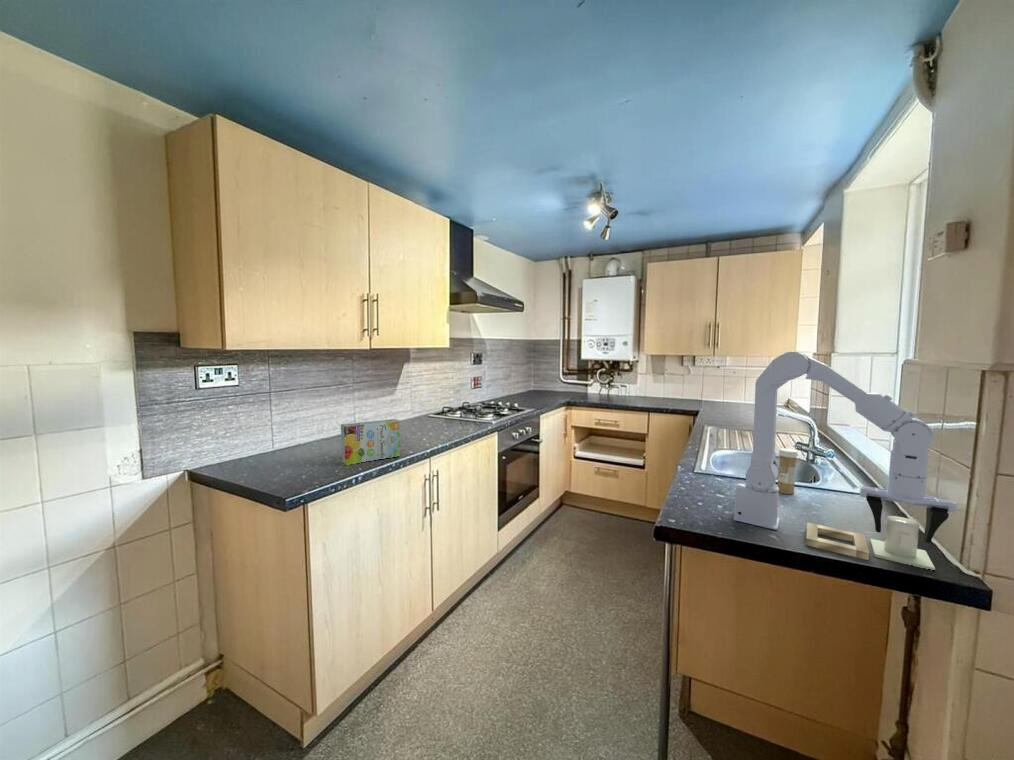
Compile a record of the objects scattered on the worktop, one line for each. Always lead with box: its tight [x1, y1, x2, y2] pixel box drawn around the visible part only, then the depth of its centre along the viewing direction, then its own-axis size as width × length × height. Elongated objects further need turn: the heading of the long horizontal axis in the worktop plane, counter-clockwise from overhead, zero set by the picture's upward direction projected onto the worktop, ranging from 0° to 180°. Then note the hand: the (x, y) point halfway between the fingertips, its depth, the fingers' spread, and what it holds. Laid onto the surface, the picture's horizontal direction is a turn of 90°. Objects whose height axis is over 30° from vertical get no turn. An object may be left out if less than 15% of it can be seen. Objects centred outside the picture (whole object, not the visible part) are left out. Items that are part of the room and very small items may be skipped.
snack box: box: [340, 418, 401, 466], centre depth 156 cm, size 21×6×15 cm, turn 125°
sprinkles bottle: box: [777, 447, 798, 495], centre depth 125 cm, size 5×5×14 cm
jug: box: [884, 515, 920, 558], centre depth 86 cm, size 7×5×7 cm
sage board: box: [869, 538, 936, 571], centre depth 87 cm, size 9×9×1 cm
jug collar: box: [805, 522, 870, 561], centre depth 92 cm, size 11×11×2 cm
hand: (901, 535), depth 87 cm, fingers open, 7 cm apart
